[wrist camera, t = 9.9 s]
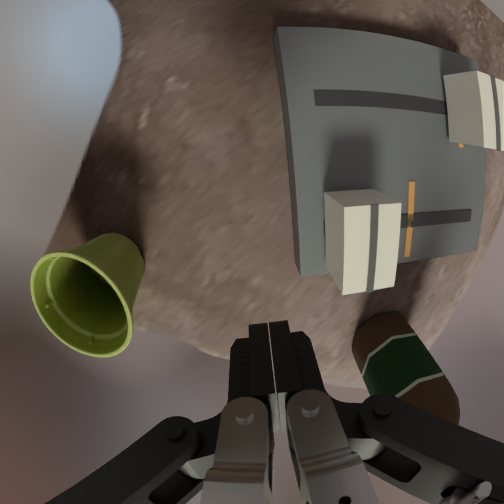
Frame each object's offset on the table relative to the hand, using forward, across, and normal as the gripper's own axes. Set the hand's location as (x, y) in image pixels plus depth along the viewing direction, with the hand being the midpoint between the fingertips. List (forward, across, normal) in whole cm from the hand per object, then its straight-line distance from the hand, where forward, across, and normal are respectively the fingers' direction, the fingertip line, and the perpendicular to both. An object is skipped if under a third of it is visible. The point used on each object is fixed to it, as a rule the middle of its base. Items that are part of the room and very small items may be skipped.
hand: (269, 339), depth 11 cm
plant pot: (+15, +14, +2) cm, 21 cm away
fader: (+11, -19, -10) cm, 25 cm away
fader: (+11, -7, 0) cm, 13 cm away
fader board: (+15, -13, -6) cm, 21 cm away
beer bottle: (+15, -13, +15) cm, 25 cm away
